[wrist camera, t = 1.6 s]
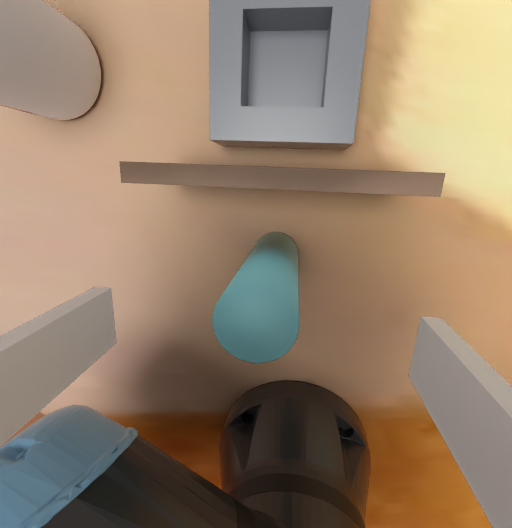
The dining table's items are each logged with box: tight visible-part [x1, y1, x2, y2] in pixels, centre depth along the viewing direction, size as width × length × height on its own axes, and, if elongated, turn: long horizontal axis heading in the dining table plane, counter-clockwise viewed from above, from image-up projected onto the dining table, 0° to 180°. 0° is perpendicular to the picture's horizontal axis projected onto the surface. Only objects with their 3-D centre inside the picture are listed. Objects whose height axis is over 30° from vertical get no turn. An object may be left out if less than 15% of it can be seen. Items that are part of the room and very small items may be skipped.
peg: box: [212, 232, 299, 363], centre depth 20 cm, size 4×4×14 cm
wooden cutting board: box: [120, 162, 445, 197], centre depth 21 cm, size 1×18×9 cm, turn 88°
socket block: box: [209, 0, 370, 150], centre depth 21 cm, size 10×10×4 cm
